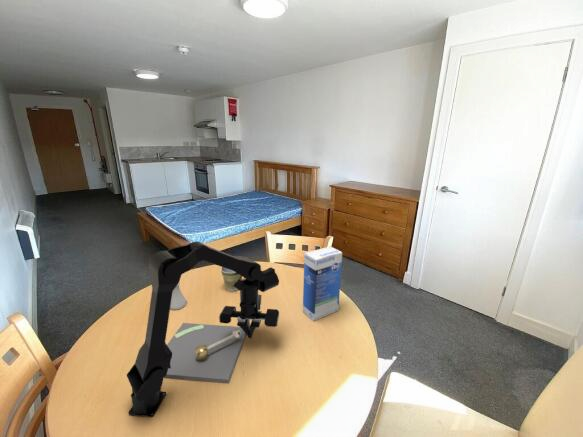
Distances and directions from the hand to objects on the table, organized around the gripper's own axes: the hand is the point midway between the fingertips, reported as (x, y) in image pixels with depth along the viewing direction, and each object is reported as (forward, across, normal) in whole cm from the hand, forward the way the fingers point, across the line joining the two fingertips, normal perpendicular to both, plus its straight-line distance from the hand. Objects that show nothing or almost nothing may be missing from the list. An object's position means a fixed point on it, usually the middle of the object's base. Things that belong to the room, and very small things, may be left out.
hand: (250, 337), depth 88 cm
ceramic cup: (+2, +15, -34) cm, 37 cm away
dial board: (+2, +14, +5) cm, 15 cm away
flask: (+2, +35, -18) cm, 39 cm away
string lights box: (+2, -24, -20) cm, 31 cm away
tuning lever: (+1, +9, +5) cm, 10 cm away
